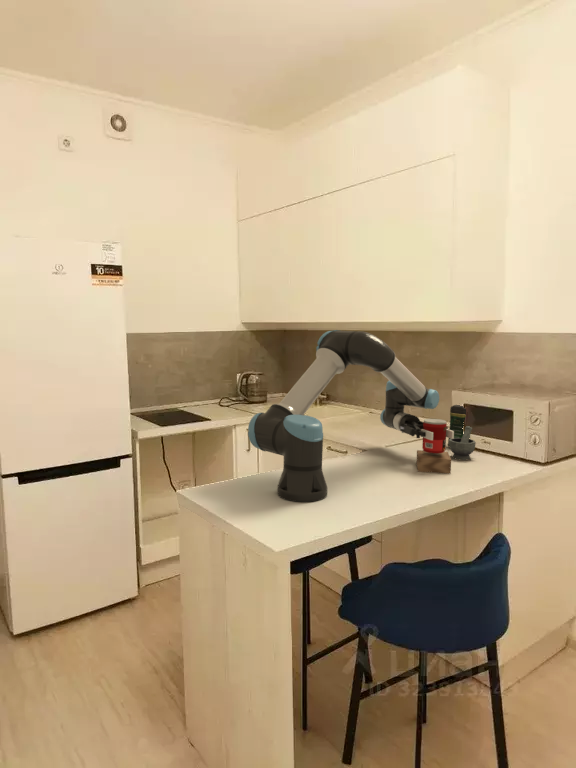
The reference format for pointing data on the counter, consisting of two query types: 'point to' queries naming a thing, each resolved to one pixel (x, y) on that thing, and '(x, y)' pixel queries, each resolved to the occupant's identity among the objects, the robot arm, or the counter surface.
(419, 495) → the counter surface
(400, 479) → the counter surface
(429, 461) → the block
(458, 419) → the coffee jar
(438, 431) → the canned food
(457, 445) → the mortar and pestle
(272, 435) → the robot arm
